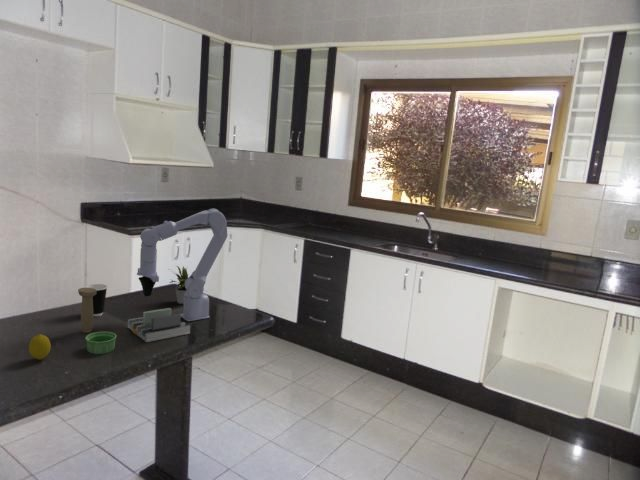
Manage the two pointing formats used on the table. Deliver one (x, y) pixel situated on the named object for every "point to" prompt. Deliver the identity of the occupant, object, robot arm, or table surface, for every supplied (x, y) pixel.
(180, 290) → the house plant
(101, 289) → the dixie cup
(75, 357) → the table surface
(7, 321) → the table surface
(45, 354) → the lemon
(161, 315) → the panel
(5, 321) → the table surface
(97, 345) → the ramekin
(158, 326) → the rack
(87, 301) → the handle
